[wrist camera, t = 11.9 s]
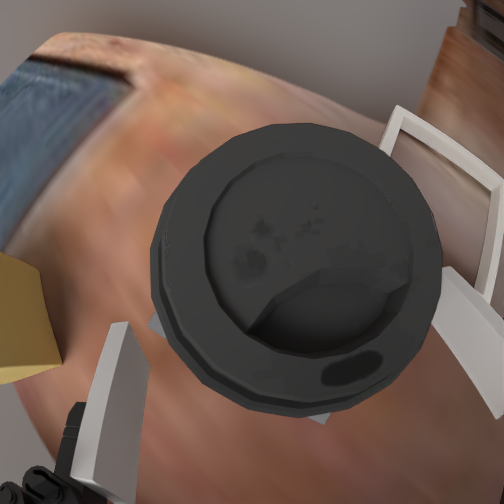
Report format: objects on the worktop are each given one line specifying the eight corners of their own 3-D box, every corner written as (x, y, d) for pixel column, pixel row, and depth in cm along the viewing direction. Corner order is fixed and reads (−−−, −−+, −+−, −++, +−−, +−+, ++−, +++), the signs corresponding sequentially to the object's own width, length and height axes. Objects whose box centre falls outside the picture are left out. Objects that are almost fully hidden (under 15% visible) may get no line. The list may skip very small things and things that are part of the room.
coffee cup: (223, 391, 21) (177, 472, 7) (188, 251, 24) (114, 140, 10) (363, 349, 22) (496, 352, 8) (322, 217, 25) (389, 90, 11)
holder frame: (498, 189, 27) (507, 182, 25) (475, 314, 23) (487, 312, 21) (390, 115, 29) (396, 104, 27) (340, 232, 25) (346, 223, 24)
